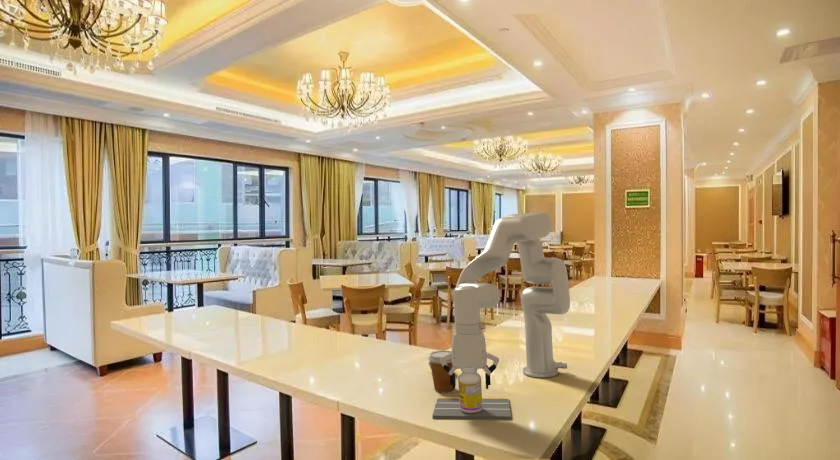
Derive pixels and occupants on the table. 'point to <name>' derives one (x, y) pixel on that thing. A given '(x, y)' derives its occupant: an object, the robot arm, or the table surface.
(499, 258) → the robot arm
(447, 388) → the disposable coffee cup
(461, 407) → the supplement bottle
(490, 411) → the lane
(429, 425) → the table surface
